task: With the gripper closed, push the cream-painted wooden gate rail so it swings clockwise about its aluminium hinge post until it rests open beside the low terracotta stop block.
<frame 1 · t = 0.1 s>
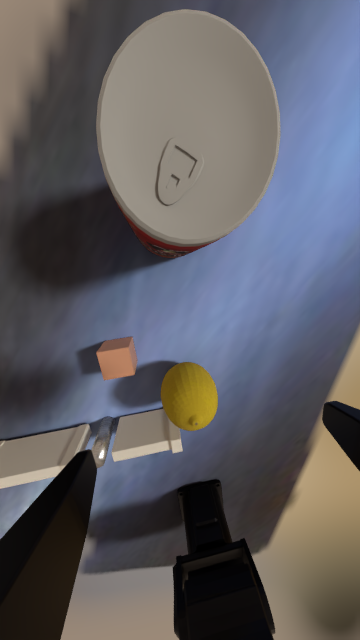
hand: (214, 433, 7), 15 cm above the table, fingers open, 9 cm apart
canned food: (171, 216, 18), on the table
hinge post: (108, 422, 23), on the table
lemon: (182, 371, 23), on the table
gate: (31, 457, 20), point 3 cm above the table, hinge at 0.0°
stop block: (121, 351, 21), on the table
fence panel: (147, 414, 24), on the table
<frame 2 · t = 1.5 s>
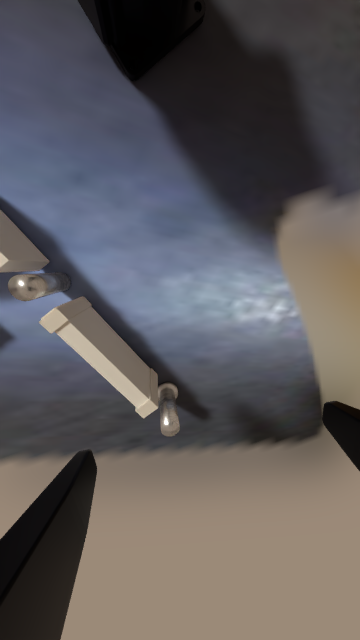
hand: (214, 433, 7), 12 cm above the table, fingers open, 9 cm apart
hinge post: (61, 281, 16), on the table
gate: (112, 354, 16), point 3 cm above the table, hinge at 0.0°
fence panel: (14, 232, 15), on the table
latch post: (166, 391, 21), on the table
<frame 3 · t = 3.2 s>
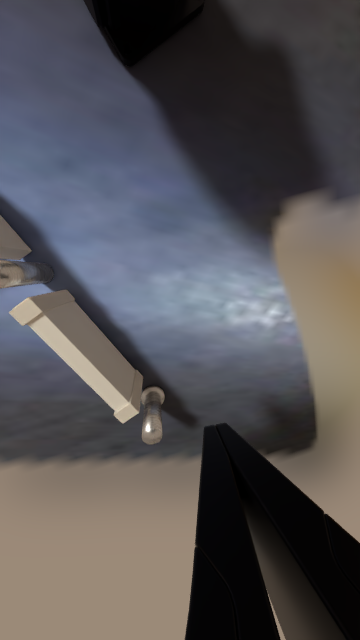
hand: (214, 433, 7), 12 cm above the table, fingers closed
hinge post: (43, 273, 15), on the table
gate: (93, 352, 15), point 3 cm above the table, hinge at 0.0°
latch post: (152, 395, 20), on the table
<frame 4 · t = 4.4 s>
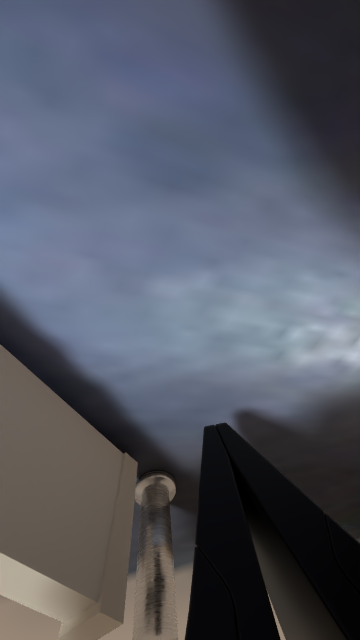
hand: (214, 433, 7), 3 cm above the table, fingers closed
gate: (19, 459, 6), point 3 cm above the table, hinge at 0.0°
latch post: (155, 485, 11), on the table
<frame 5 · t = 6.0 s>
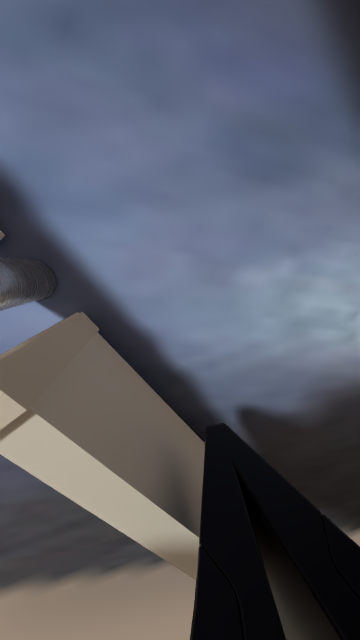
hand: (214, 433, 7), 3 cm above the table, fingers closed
hinge post: (34, 280, 8), on the table
gate: (145, 444, 7), point 3 cm above the table, hinge at 1.7°, touching gripper
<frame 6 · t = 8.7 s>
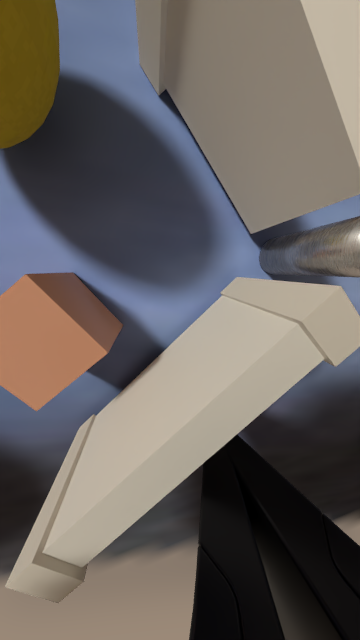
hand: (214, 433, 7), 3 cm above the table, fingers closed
hinge post: (275, 256, 9), on the table
lemon: (16, 107, 6), on the table
gate: (169, 399, 7), point 3 cm above the table, hinge at 84.6°, touching gripper
stop block: (73, 321, 8), on the table
fence panel: (218, 155, 7), on the table
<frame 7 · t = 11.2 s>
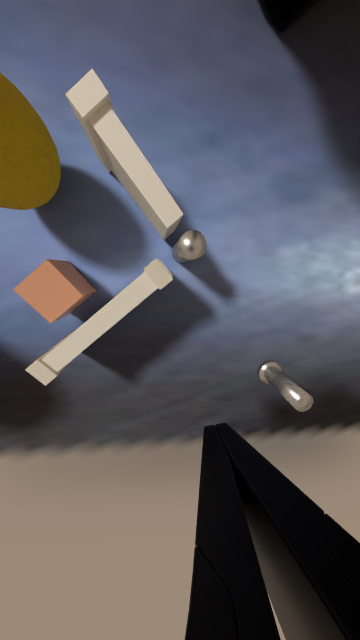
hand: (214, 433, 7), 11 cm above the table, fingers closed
hinge post: (181, 252, 16), on the table
lemon: (40, 180, 13), on the table
gate: (107, 315, 13), point 3 cm above the table, hinge at 89.7°
stop block: (69, 288, 15), on the table
fence panel: (142, 199, 14), on the table
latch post: (268, 371, 20), on the table
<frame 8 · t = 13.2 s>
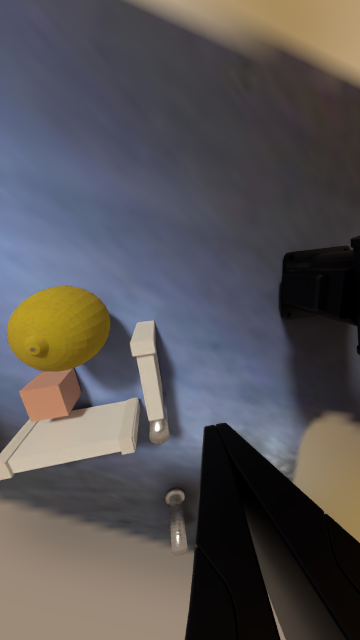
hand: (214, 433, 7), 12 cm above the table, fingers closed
hinge post: (158, 396, 20), on the table
lemon: (88, 313, 17), on the table
gate: (78, 432, 17), point 3 cm above the table, hinge at 89.7°
stop block: (61, 383, 18), on the table
fence panel: (151, 356, 19), on the table
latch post: (175, 494, 24), on the table
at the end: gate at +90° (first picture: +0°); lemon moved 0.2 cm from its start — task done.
